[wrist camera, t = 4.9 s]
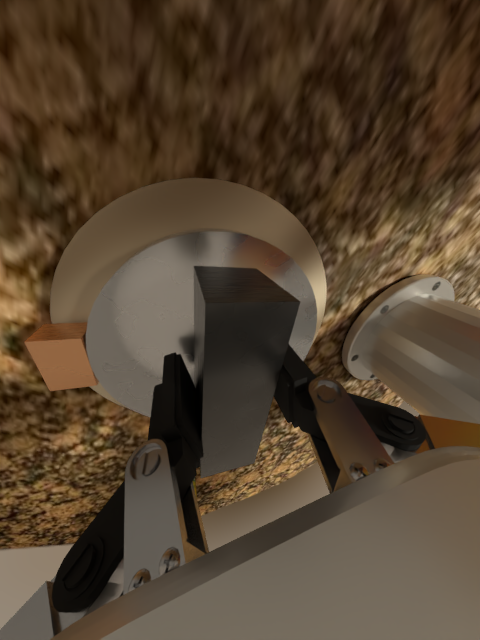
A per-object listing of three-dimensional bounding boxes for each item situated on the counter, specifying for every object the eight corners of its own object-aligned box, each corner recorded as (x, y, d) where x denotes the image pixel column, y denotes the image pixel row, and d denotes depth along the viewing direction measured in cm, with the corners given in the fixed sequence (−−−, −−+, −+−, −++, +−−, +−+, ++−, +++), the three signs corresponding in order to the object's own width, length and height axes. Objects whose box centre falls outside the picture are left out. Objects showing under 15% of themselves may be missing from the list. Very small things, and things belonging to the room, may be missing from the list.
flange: (329, 239, 11) (431, 261, 7) (281, 390, 18) (319, 454, 13) (-9, 205, 7) (-362, 201, 2) (88, 424, 13) (42, 539, 9)
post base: (347, 298, 17) (412, 333, 12) (224, 419, 20) (238, 480, 16) (177, 75, 8) (179, -108, 3) (11, 360, 11) (-98, 461, 7)
